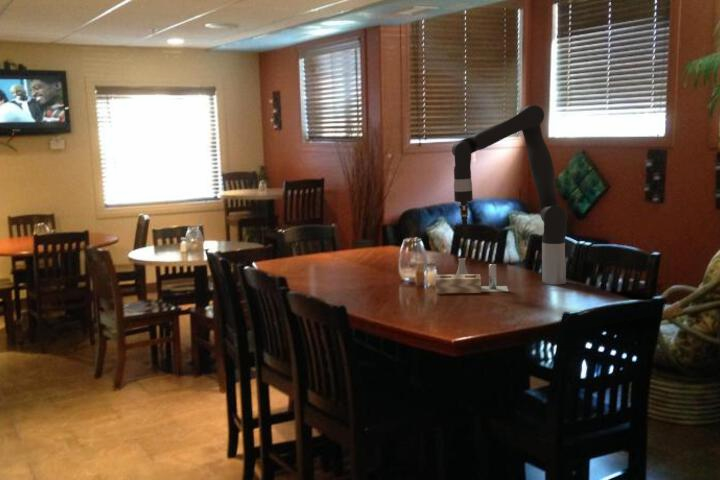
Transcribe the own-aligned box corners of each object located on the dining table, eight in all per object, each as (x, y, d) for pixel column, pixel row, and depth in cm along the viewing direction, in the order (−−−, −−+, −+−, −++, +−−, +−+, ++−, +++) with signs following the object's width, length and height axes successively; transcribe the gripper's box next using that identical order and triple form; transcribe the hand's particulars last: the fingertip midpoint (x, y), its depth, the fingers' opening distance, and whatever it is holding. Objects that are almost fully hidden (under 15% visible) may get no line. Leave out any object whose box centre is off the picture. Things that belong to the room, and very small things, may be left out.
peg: (496, 287, 295) (496, 264, 294) (496, 289, 292) (496, 265, 291) (488, 287, 295) (488, 264, 294) (489, 289, 292) (489, 265, 291)
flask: (470, 283, 309) (469, 260, 307) (453, 283, 310) (453, 260, 309) (471, 279, 316) (470, 257, 314) (454, 279, 317) (454, 257, 316)
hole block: (480, 288, 297) (479, 274, 296) (481, 293, 288) (481, 278, 287) (436, 288, 300) (436, 274, 299) (436, 294, 290) (435, 279, 289)
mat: (506, 286, 298) (506, 285, 298) (508, 292, 288) (508, 291, 288) (477, 287, 299) (477, 286, 299) (478, 292, 290) (478, 291, 290)
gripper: (472, 190, 289) (474, 230, 291) (472, 188, 303) (473, 226, 305) (453, 191, 290) (455, 231, 292) (454, 189, 304) (455, 226, 306)
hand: (464, 228), depth 299 cm, fingers open, 8 cm apart
